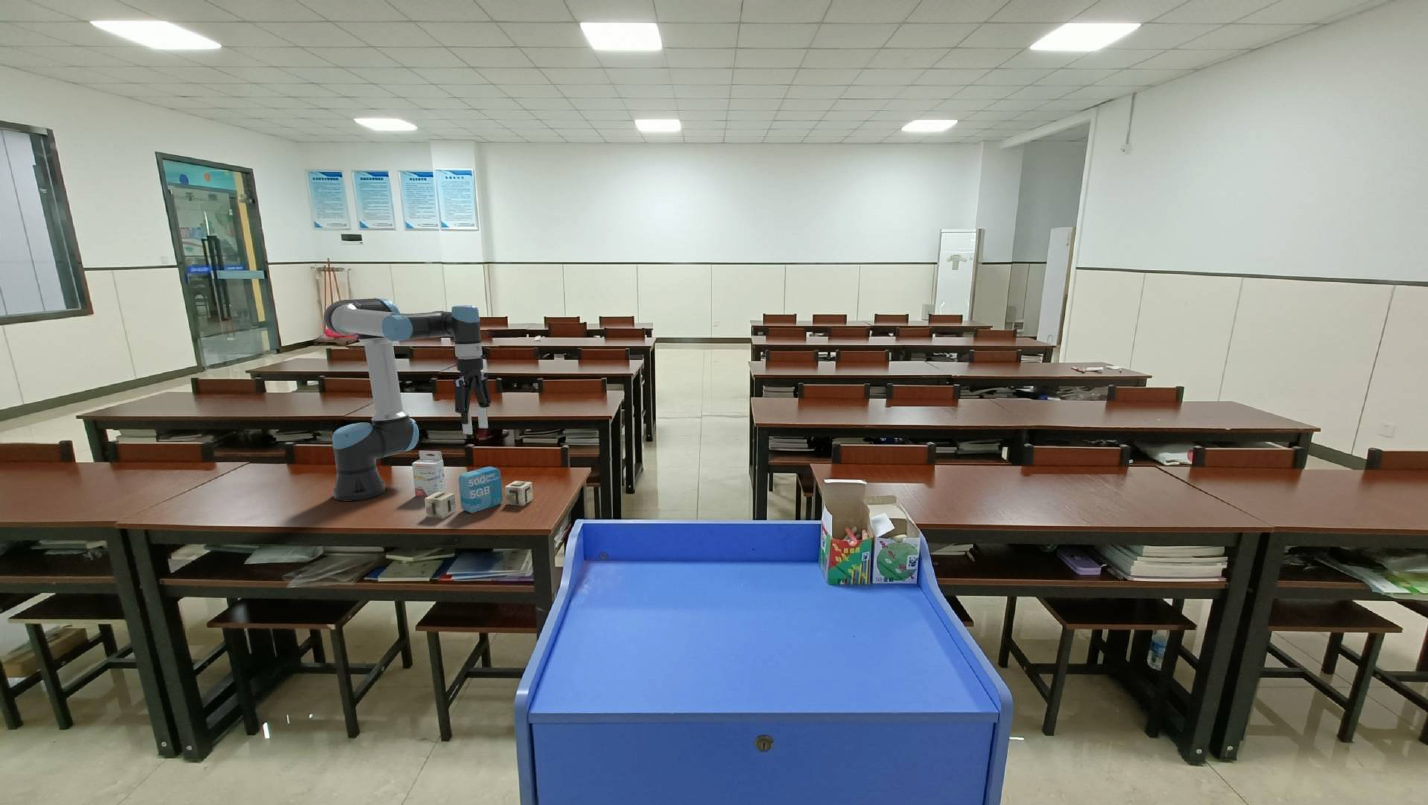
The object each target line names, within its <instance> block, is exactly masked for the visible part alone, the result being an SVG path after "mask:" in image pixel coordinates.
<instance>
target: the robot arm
mask: <svg viewBox="0 0 1428 805" xmlns="http://www.w3.org/2000/svg"><path fill="white" fill-rule="evenodd" d="M323 322H324V325H325V326H326V327H327V328H328V330H329V331H331V332H332V333H334V334H336V335H340V336H357V339H358V341H359V342H360V343H361V344H363V345H364V350H365V356H366V363H367V369H368V376H369V381H370V382H369V383H370V387H371V389H370V390H371V394H372V399H373V406H374V411H375V412H374V413H375V414H374V415H373V416H372V417H371V422H356V423H351V424H347V425H345V426H341V427H339V428H337V429H336V430H335V431H334V432H333V433H332V440H331V441H332V448H333V456H334V461H335V468H336V479H335V484H334V488H333V498H335V499H334V500H336V499H337V500H336V501H339V500H345V501H344V502H350V501H349V500H357V501H362V500H367V499H371V498H370V497H372V498H374V497H377V496H379V494H380V495H382V494H383V493H384V492H385V491H386V486H385V481H384V480H383V479H382V477H381V475H380V473H379V471H378V468H377V460H378V459H382V458H385V457H390V456H395V455H398V454H403V453H405V452H407V451H411V450H412V449H414V448H415V447H416V445H417V444H418V442H419V437H420V436H419V435H420V432H419V427H418V424H417V422H416V420H414V419H413V418H411V417H410V415H409V413H408V412H406V411H405V410H404V408H403V402H402V396H401V395H402V394H401V388H400V382H399V376H398V369H397V362H396V357H395V356H396V355H395V350H394V344H393V342H405V341H410V340H418V339H419V340H420V339H428V338H429V339H431V338H439V337H441V338H442V337H443V338H444V337H453V340H454V352H455V353H454V354H455V357H456V360H455V362H456V370H457V371H458V372H460V374H459V379H453V385H454V411H455V413H457V414H460V420H461V424H462V433H463V435H473V425H472V424H473V423H472V413H471V412H470V405H471V398H472V392H473V393H474V395H475V398H476V401H477V404H478V407H477V418H478V419H477V420H478V428H479V429H488V428H489V424H488V423H489V422H488V408H490V407H491V403H492V398H491V394H490V387H489V381H488V380H489V373H486V372H484V373H483V372H482V370H483V369H484V367H485V366H484V358H483V357H482V356H483V348H482V336H481V334H482V333H481V332H482V331H481V318H480V314H479V308H478V307H477V306H476V305H474V304H473V305H467V304H466V305H453V306H452V307H451V311H446V310H445V311H444V310H435V311H431V312H419V313H400V310H399V308H398V307H397V305H396V304H395V302H393V301H392V300H390V299H387V298H376V297H374V298H361V299H359V298H358V299H342V300H338V301H335V302H332V303H330V305H329V306H328V307H327V308H326V309H325V310H324V314H323ZM371 423H372V424H371ZM346 500H347V501H346Z"/></svg>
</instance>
